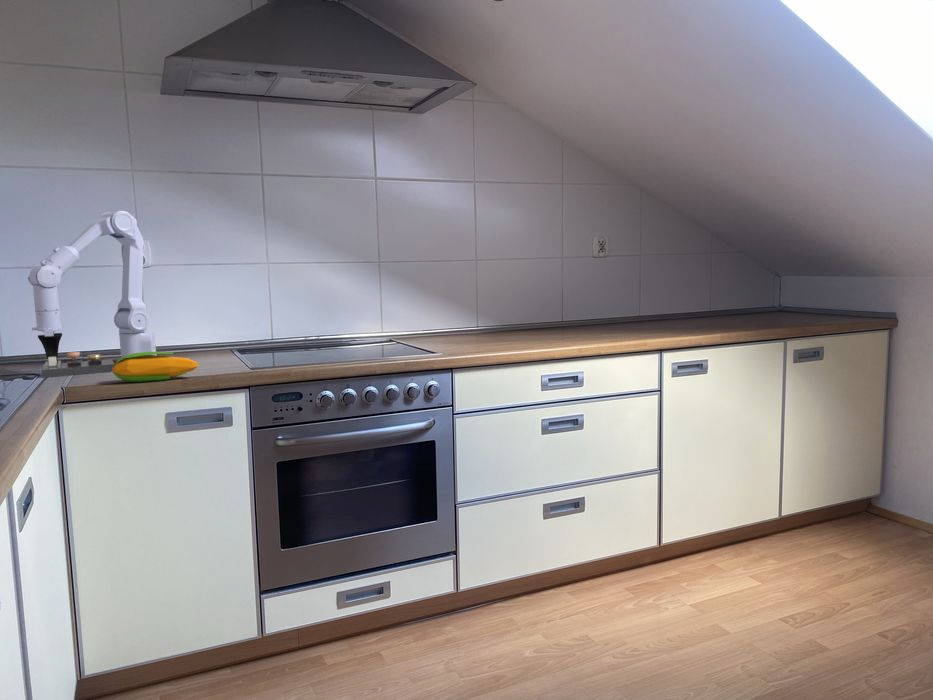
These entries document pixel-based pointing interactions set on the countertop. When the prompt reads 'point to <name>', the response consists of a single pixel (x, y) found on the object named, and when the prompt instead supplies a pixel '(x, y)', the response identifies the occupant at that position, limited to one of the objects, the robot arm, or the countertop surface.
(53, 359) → the slider knob
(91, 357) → the brass button
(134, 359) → the corn
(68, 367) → the panel
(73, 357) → the terracotta button
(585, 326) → the countertop surface
